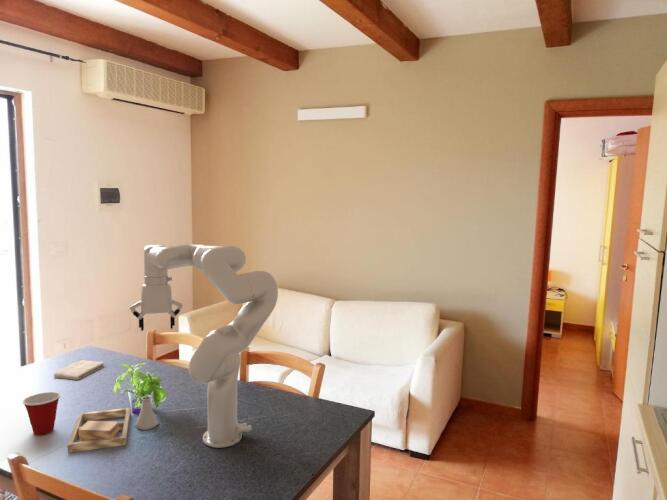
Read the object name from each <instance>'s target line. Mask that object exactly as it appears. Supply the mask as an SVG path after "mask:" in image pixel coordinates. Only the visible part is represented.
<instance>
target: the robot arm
mask: <svg viewBox="0 0 667 500" xmlns="http://www.w3.org/2000/svg"><path fill="white" fill-rule="evenodd" d="M246 262H247V256H246V253H245V252H244V251H243V249H242V248H240V247H238V246H234V245H207V244H178V245H171V246H166V245H164V244H149V245H146V246H145V247H144V248H143V263H144V264H143V265H144V266H143V267H144V268H143V269H144V270H143V271H144V272H143V273H144V283H143V284H142V285H141V291H140V292H141V293H140V297H141V298H140V301H137V302H136V303H134V304H132V305H130V306H129V310H130V311H131V313H132V315H133V316H135V317H136V318H137V320H138V328H139V329H140V331H141V332H143V331H144V329H145V328H144V327H145V325H144V316H145V315H150V314H151V315H152V314H169V316H170V317H169V318H170V330H171V329H172V330H173V328H174V326H176V325H175V324H176V323H175V322H176V321H175V318H176V316H177V315H178V314H179V313H180V312H181V310H182V309H183V305H184V304H183V303H181V302H179V301H178V300H174V299H173V296H172V295H173V294H172V288H171V287H172V286H171V284H170V283H169V282H171V281H173V277H172V276H169V275H168V272H169V271H168V270H173V269H177V268H178V269H179V268H184V267H195V268H196V269H197V270H198V271H200V272H203V274H204V275H205V276H206V278H208V280H209V281H210V282H211V284H212V285H214V287H215V288H216V290H218V291H219V293H220V294H221V295H222V296H223V297H224V298H225V300H226V301H228V302H229V303H231V304H234V305H243V304H244V305H243V306H242V307H240V309H239V310H238V312H237V314H236V315H235V317H234V318H233V319H232V320H231V321H230V322H229V323H227V324H225V325H222V326H220V327H217V328H215V329H212V330H211V331H210V332H208V333H207V334H206V335H205V336H204V338H203V339H202V341H201V342H200V344H199V345H198V347H197V348H196V350H195V351H194V353H193V354H192V356H191V357H190V361H189V362H188V373H189V376H190V378H191V380H192V381H193V382H194V383H196V384H198V385H199V384H200V385H205V384H207V391H206V392H207V393H206V398H207V401H206V402H207V407H206V408H207V430H206V431H205V432H204V433H203V435H202V442H203V443H204V445H206V446H208V447H211V448H216V449H218V448H220V449H221V448H228V447H231V446H235V445H236V444H238V443H239V442H240V441H241V439H242V438H243V433H246V432H248V433H249V432H252V425H251V424H249V425H247V422H244V423H239V422H238V421H239V420H238V382H239V381H238V380H239V372H240V367H241V353H242V352H244V351H246V350H247V349H248V348H249V346H250V345H251V343H252V342H253V341H254V339H255V337H256V336H257V334H258V333H259V331H260V330H261V328H262V327H263V326H264V324H265V323H266V321H267V320H268V319H269V317H270V316H271V315H272V313H273V311H274V309H275V307H276V305H277V302H278V297H279V288H278V284H277V281H276V279H275V278H274V276H273V275H272V274H271V273H270V272H268V271H264V270H254V271H249V272H244V273H240V274H238V273H237V272H239V271H241V269H243V268H244V266H245V264H246ZM173 305H174V306H177V308H176V309H175V310H173ZM139 307H140V310H141V312H140V313H139V311H137V310H136V308H139Z"/></svg>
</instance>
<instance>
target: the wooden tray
mask: <svg viewBox="0 0 667 500" xmlns="http://www.w3.org/2000/svg"><path fill="white" fill-rule="evenodd" d="M123 417H124V420H123V421H118V422H119V431H122V432H121V436H118V437H113V438H112V439H111V440H105V439H97V440H89V441H81V440H80V441H77V439H78V438H79V429H80V428H81V427H82V426H83V422H87V421H98V420H105V419H106V420H107V419H114V418H123ZM130 419H131V407H125V408H124V407H122V408H114V409H105V410H99V411H97V410H96V411H95V410H94V411H87V412H80V413H79V414H78V416H77V418H76V421H75V425H74V427H73V429H72V432H71V434H70V438H69V441H68V443H67V453H75V452H77V453H78V452H83V451H84V452H85V451H90V450H97V449H98V450H99V449H105V448H106V449H107V448H116V447H121V446H127V445H126V444H127V439H128V438H127V437H128V433H129V432H128V431H129V425H130Z"/></svg>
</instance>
